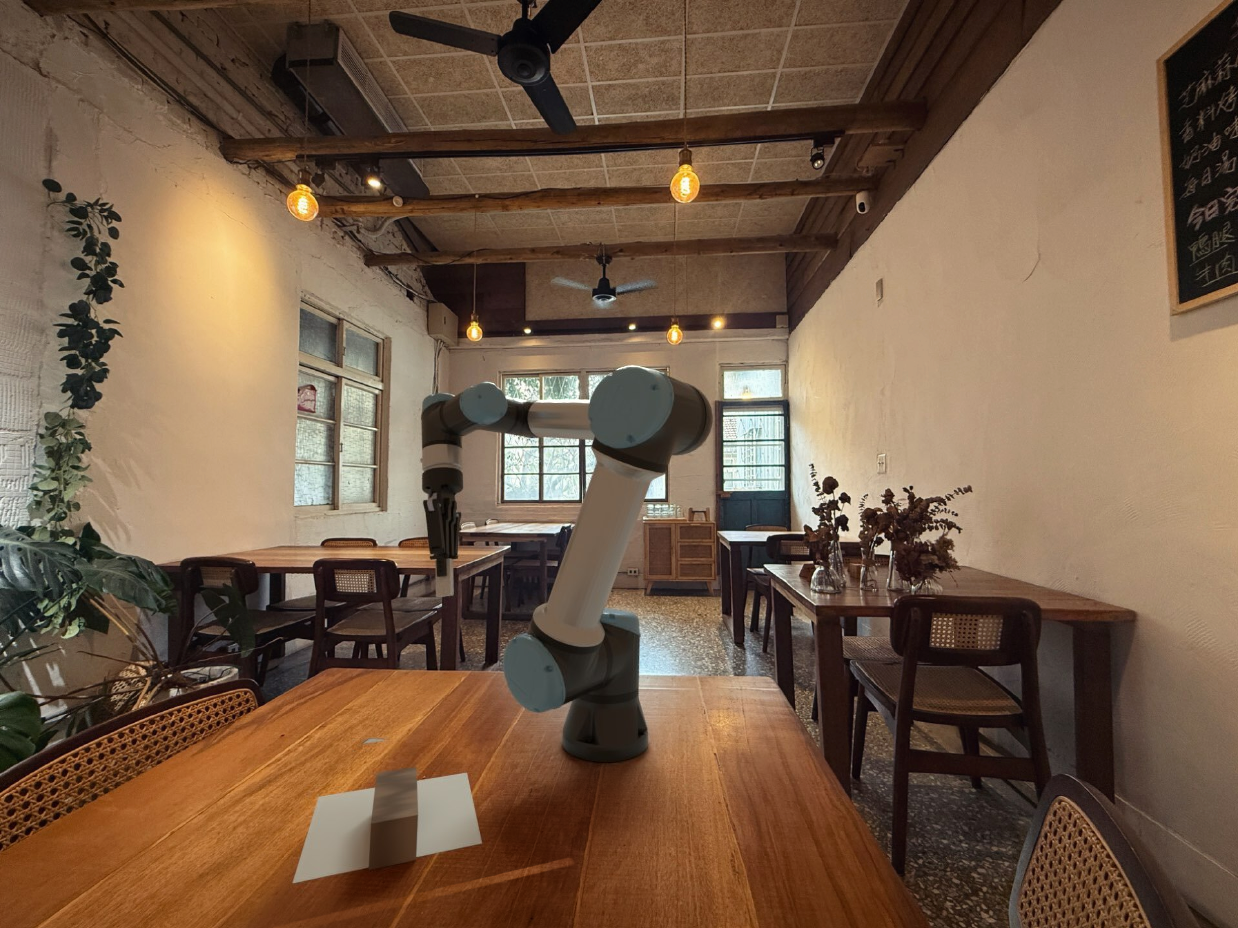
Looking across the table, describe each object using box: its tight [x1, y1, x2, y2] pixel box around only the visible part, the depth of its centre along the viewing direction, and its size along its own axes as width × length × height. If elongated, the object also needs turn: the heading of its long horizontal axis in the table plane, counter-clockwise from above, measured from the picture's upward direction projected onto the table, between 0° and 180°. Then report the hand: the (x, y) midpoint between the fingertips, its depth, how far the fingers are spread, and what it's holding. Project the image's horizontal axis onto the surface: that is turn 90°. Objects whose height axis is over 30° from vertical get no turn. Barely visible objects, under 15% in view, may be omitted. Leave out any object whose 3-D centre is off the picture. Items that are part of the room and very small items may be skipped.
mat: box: [292, 772, 483, 884], centre depth 70 cm, size 20×18×1 cm
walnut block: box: [368, 766, 418, 871], centre depth 66 cm, size 5×5×12 cm
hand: (444, 595), depth 96 cm, fingers closed
